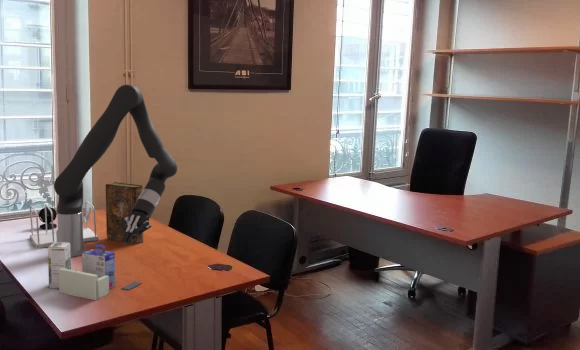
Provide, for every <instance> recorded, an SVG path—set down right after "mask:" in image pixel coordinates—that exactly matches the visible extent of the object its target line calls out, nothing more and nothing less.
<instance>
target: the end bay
mask: <svg viewBox="0 0 580 350" xmlns="http://www.w3.org/2000/svg"><path fill="white" fill-rule="evenodd" d="M58 289H59V290H58V292H59V293H61V294H65V295H68V296H69V295H70V296H75V297H78V298H83V299H88V300H93V301H97V300H99V299H101V298H103V297H105V296H107V295H109V294H110V289H109V276H106V275H105V276H103V277H100V278H98V275H95V274H90V273H85V272H82V271H80V270H77V269H75V268H73V269H71V270H70V269H65V268H60V269H59V288H58Z"/></svg>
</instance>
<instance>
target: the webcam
mask: <svg viewBox="0 0 580 350" xmlns="http://www.w3.org/2000/svg"><path fill="white" fill-rule="evenodd" d="M49 208H50V209H51V210H52V214H53V227H54V229H56V228H58V224H56V223H55V220H56V219H57V217H58V216H57V210H56V209H55V208H54V207H51V206H49ZM46 215H47V231H48V230H52V219H51V212H50V210H49V209H48V208H47V207H46ZM38 220H40V221H41V222H42V223H43V224H40V225H38V228H39V229H40V230H44V231H46V224H45V207H43V208H41V209H40V211H39V212H38Z"/></svg>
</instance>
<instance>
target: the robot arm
mask: <svg viewBox="0 0 580 350" xmlns="http://www.w3.org/2000/svg"><path fill="white" fill-rule="evenodd" d="M128 114H129V115H130V116H131V118H132V119H133V121H134V123H135V126H136V129H137V133H138V136H139V139H140V142H141V144H142V146H143V147H144V150H145V152H146V154H147V155H148V157H149V158H150V159H154V160H155V161H156V162H157V163H156V164H155V165H154V166H153V168H152V170H151V172H150V175H149V177H148V178H149V179H148V181H147V183H146V184H145V187H143V189H142V190H143V191H142V193H141V194H140V196H139V197H138V199H137V201H136V203H135V204H134V206H133V208H132V212H131V213H130V214H129V216H128V217H126V218H124V217H122V218H121V221H122V227H123V230H124V231H125V232H126V233H125V235H124V237H123V239H122V240H123V242H122V243H124V244H127V245H129V244H131V243H130V242H131V240H132V238H133V236H135V235H140V234H141V233H143V234H144V232H146V231H147V230H149V229H151V228H152V224H151V222H149V221H150V219H151V218H152V215H153V213H154V211H155V210H156V208H157V206H158V204H159V202H160V199H161V197H162V196H163V193H164V192H165V191H166V190H165V189H166V184H165V183H166V181H167V180H168V179H170V178H171V177H173V176H176V174H177V173H178V172H177V171H178V165H177V163H176V160H175V159H174V157H173V156H172V155H171V154H170V152H168V150H167V149H166V148H165V146H164V144H163V142H162V140H161V138H160V136H159V134H158V132H157V130H156V128H155V125H154V123H153V122H152V119H151V117H150V114H149V112H148V110H147V106H146V103H145V100H144V96H143V93H142V91H141V89H139V87H137V86H135V85H132V84H123V85H121V86H119V87H118V88H117V89H116V91H115V92H114V94H113V96H112V98H111V99H110V102H109V103H108V105H107V107H106V109H105V110H104V112H103V113H102V114H101V116H100V117H99V118H98V120H97V121H96V122H95V124H93V126H92V127H91V128H90V130H89V131H88V133H87V134H86V136H85V137H84V139H83V141H81V143H80V145H79V146H78V149H77V151H76V152H75V154H74V156H73V158H72V159H71V160H70V162H69V163H68V165H66V167H65V168H64V169H63V171H62V172H61V173H60V174H59V175H58V176H57V177H56V178H55V180H54V183H53V189H54V192H55V193H56V195H58V202H57V207H56V213H57V216H56V217H57V230H56V231H55V232H56V238H57V242H66V243H70V254H71V258H72V257H77V256H82V253H83V252H85V250H84V242H83V228H84V225H83V223H84V222H83V219H82V216H83V204H84V185H83V184H84V183H83V180H84V178H85V176H87V174H88V172H89V170H90V169H92V167H93V166H94V165H95V164H96V163H97V162H99V160H100V159H101V158H102V157H103V156H104V155H105V153H106V152H107V150H108V148H110V146H111V145H112V143H113V142H114V140H115V137H116V136H117V132H118V130H119V128H120V125H121V123H122V121H123V120H124V119H125V117H126V116H127V115H128ZM128 222H129V223H128ZM141 229H142V230H141ZM139 230H140V231H139Z"/></svg>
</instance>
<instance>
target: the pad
mask: <svg viewBox="0 0 580 350" xmlns="http://www.w3.org/2000/svg"><path fill="white" fill-rule="evenodd" d="M142 284H143V283H142V282H140V281H132V282H131V283H129V284H127V285H125V286H123V287H122V288H121V290H125V291H130V290H132V289H135V288H136V287H138V286H140V285H142Z"/></svg>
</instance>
